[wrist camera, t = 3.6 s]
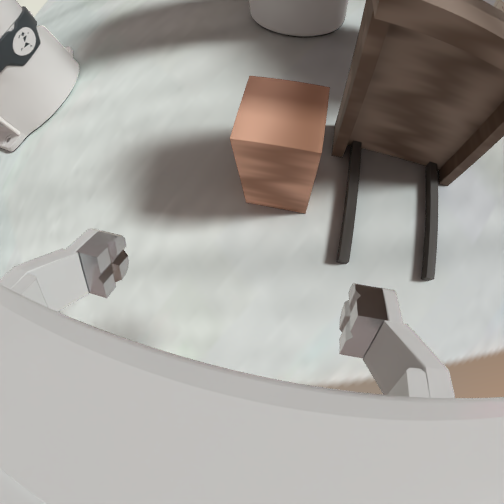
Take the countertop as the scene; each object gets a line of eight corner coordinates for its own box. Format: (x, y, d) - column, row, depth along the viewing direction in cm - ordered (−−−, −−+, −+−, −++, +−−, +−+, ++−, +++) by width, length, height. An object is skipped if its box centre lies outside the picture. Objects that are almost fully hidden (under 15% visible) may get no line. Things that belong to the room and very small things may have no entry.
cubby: (316, 258, 24) (400, 128, 7) (334, 125, 27) (374, -42, 9) (444, 283, 23) (611, 232, 5) (445, 156, 25) (542, 39, 8)
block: (246, 202, 26) (229, 138, 16) (258, 152, 27) (249, 75, 17) (305, 213, 25) (321, 153, 15) (313, 161, 26) (329, 87, 16)
